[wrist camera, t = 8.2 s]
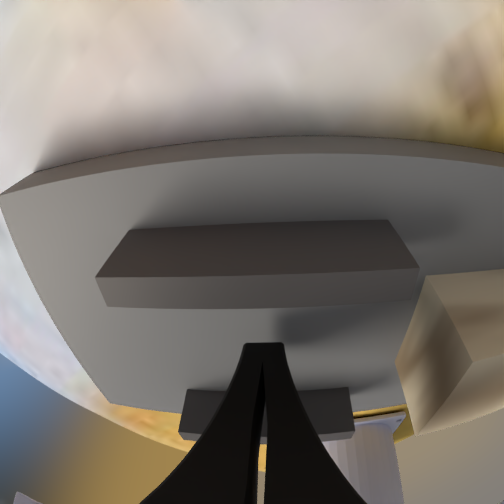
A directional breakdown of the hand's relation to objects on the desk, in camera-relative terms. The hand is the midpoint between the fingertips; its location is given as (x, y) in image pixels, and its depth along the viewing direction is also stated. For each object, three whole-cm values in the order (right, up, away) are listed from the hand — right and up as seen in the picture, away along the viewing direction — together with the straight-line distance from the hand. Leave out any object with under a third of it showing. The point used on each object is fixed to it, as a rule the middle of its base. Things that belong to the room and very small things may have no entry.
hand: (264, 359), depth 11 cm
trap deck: (+5, +2, +3) cm, 6 cm away
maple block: (+8, +1, 0) cm, 8 cm away
